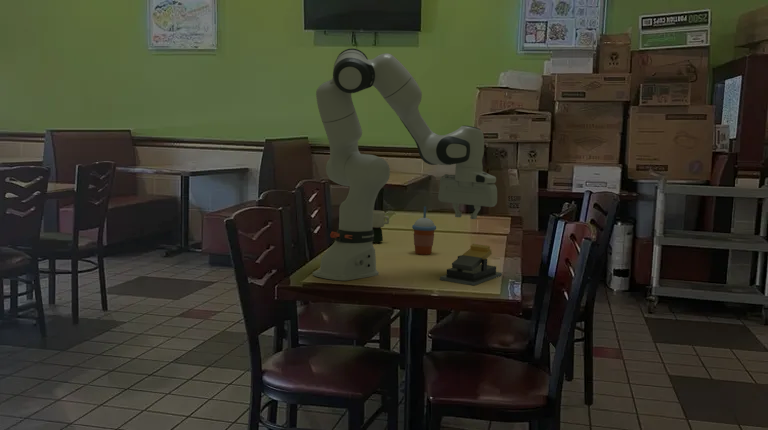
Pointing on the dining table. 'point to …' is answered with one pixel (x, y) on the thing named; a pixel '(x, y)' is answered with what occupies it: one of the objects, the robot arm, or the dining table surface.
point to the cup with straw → (423, 235)
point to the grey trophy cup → (378, 224)
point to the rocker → (472, 257)
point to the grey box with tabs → (472, 274)
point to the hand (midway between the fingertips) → (465, 218)
